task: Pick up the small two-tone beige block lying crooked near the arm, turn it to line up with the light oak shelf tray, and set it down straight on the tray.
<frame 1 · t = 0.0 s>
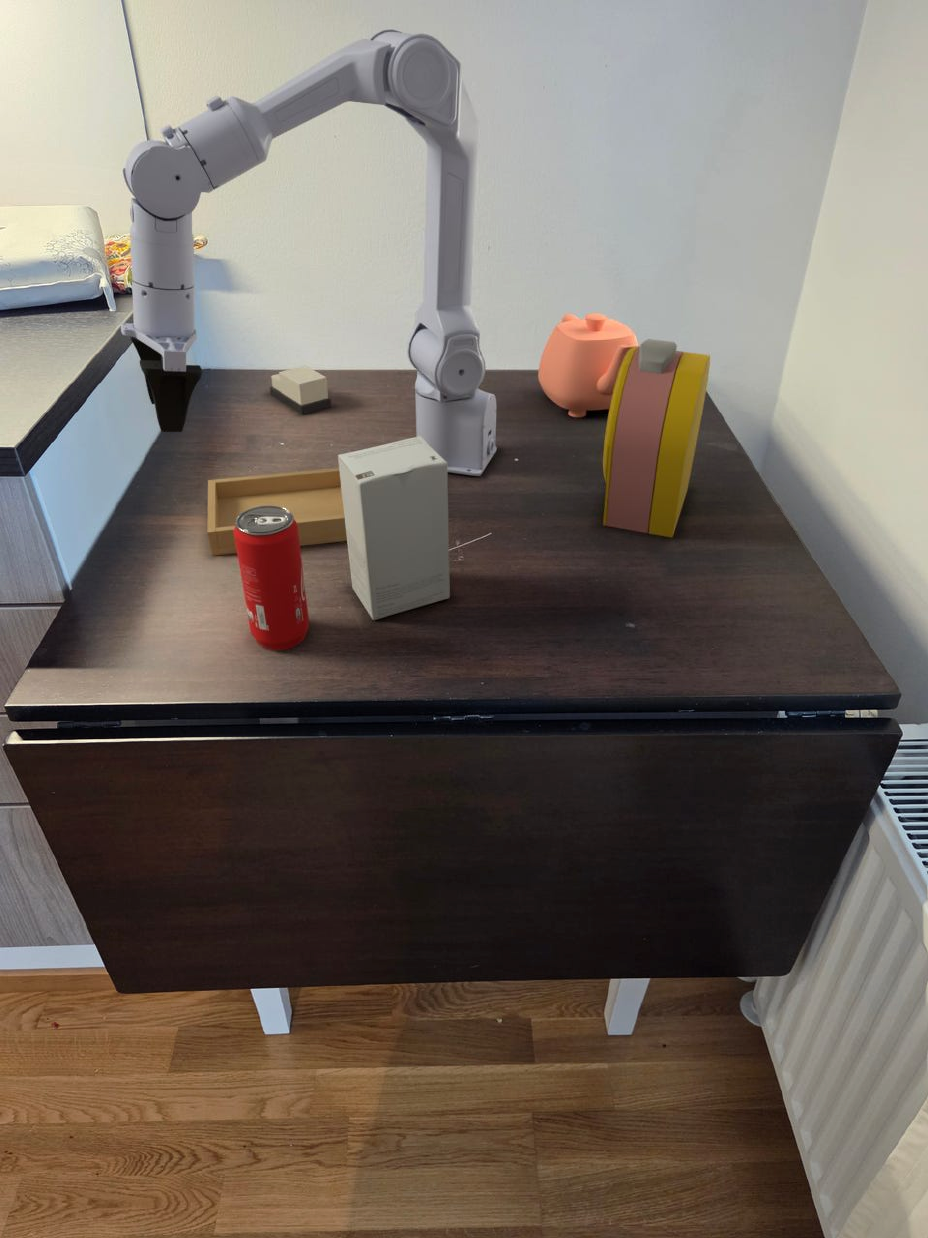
hand: (166, 416, 91), 11 cm above the table, tool pointing down, fingers open, 7 cm apart
two-tone beige block: (300, 400, 122), on the table
beverage can: (281, 637, 79), on the table
teapot: (589, 406, 122), on the table
cosmetic box: (399, 598, 84), on the table
shelf tray: (285, 520, 95), on the table
alarm clock: (643, 508, 98), on the table
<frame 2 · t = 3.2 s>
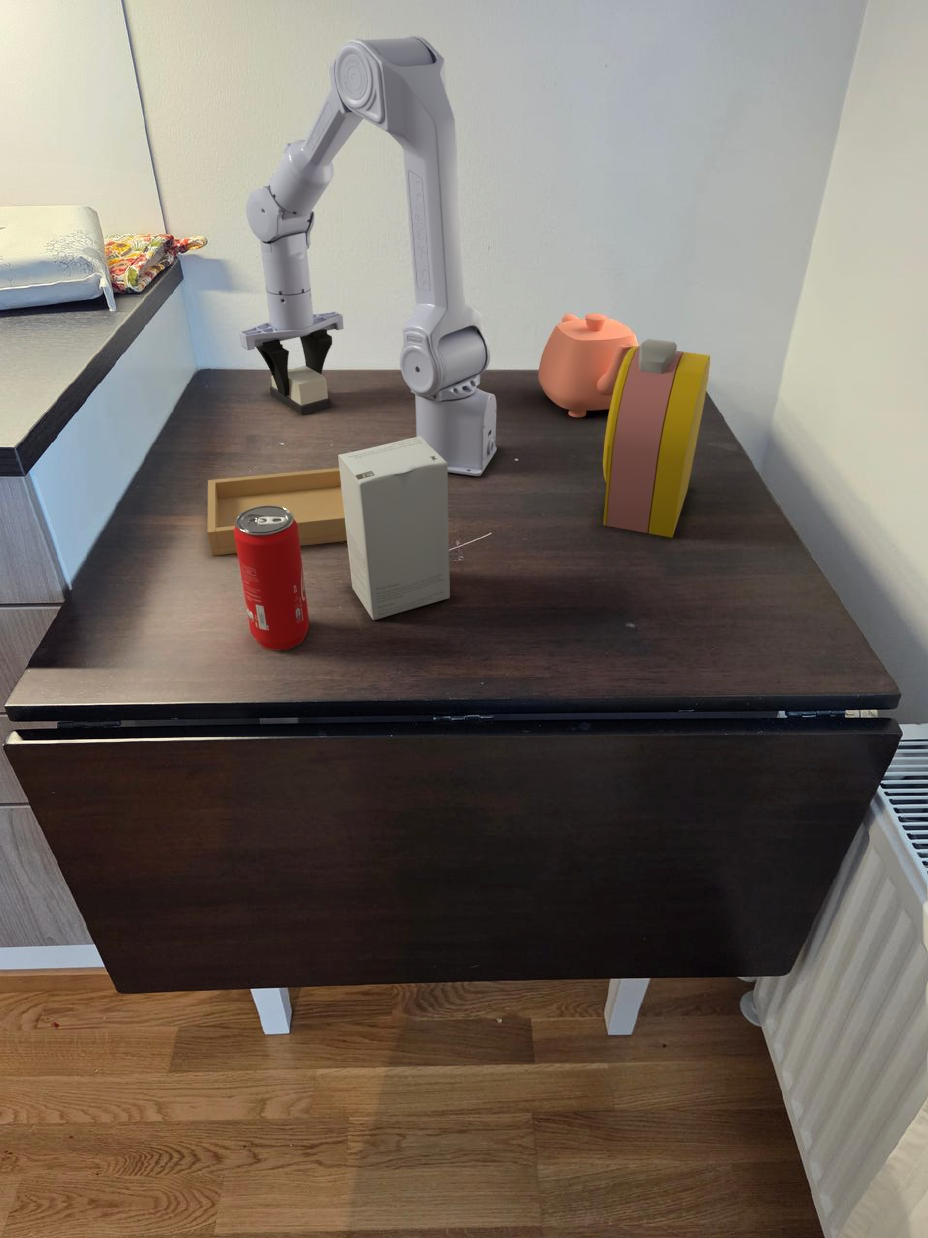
hand: (299, 389, 121), 2 cm above the table, tool pointing down, fingers closed on two-tone beige block, 4 cm apart
two-tone beige block: (300, 400, 122), on the table, touching gripper
everything else where it was.
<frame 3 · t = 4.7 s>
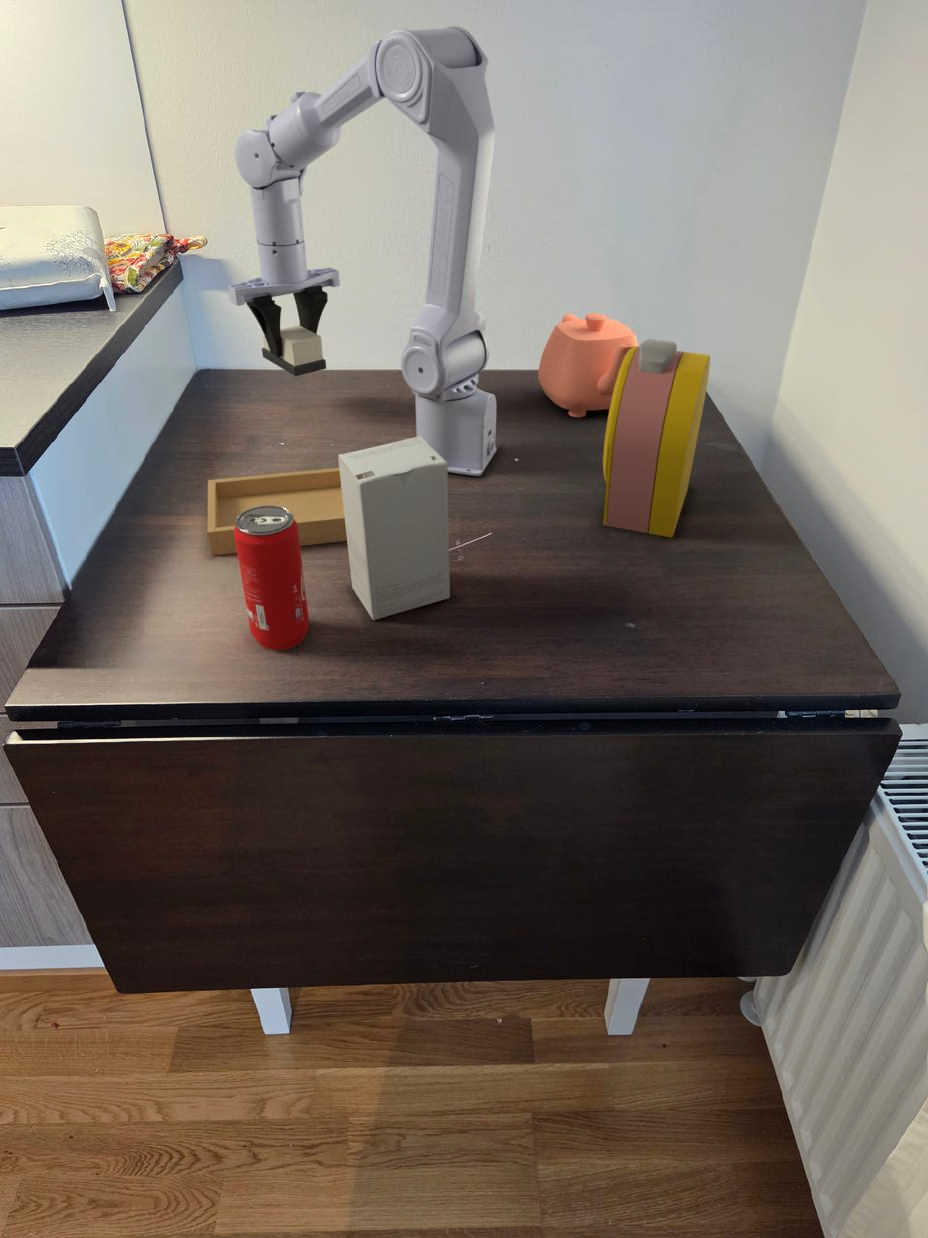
hand: (293, 350, 114), 8 cm above the table, tool pointing down, fingers closed on two-tone beige block, 4 cm apart
two-tone beige block: (294, 362, 115), point 7 cm above the table, touching gripper
everything else where it was.
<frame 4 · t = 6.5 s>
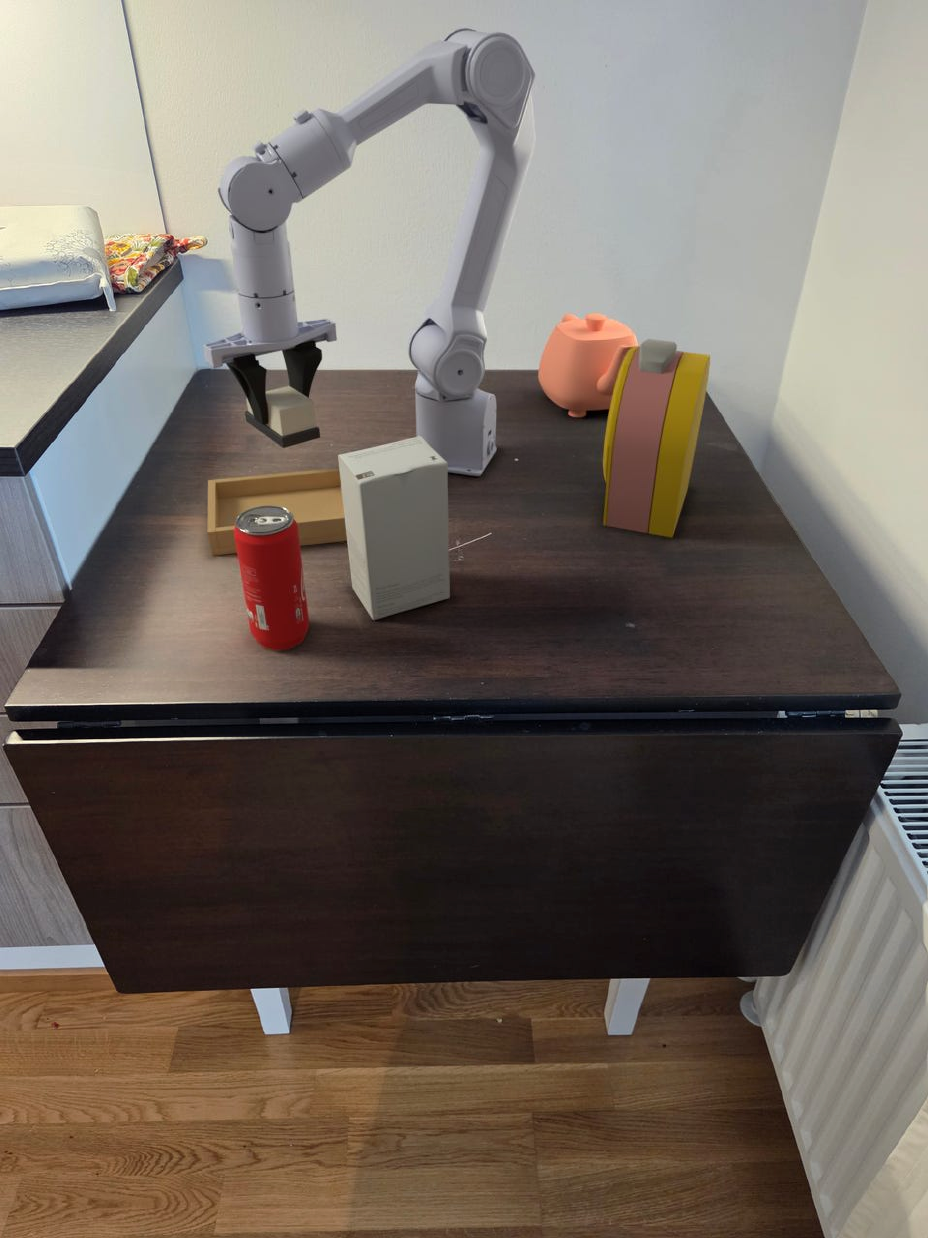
hand: (281, 415, 97), 8 cm above the table, tool pointing down, fingers closed on two-tone beige block, 4 cm apart
two-tone beige block: (282, 429, 98), point 7 cm above the table, touching gripper
everything else where it was.
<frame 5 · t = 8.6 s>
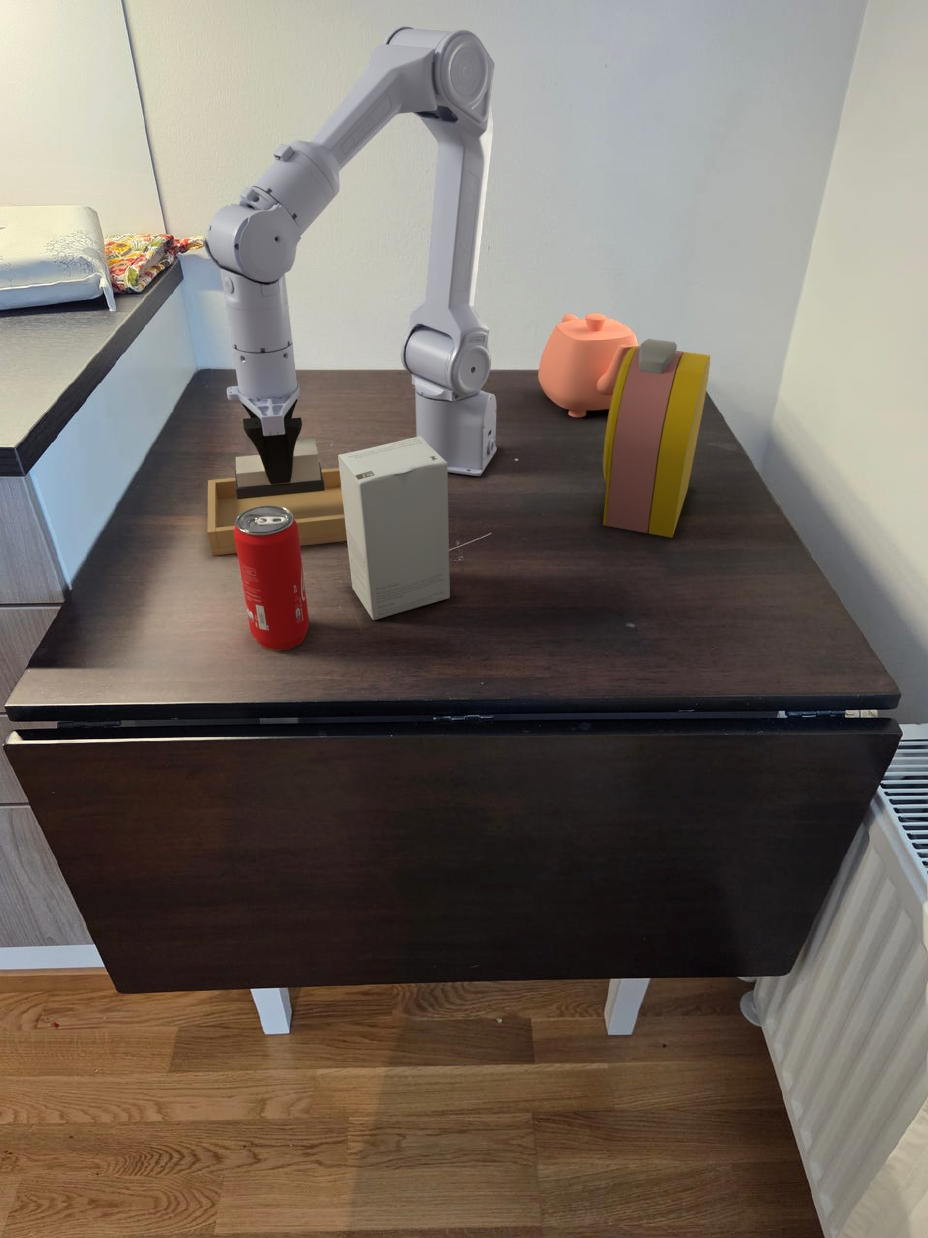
hand: (278, 471, 92), 6 cm above the table, tool pointing down, fingers closed on two-tone beige block, 4 cm apart
two-tone beige block: (280, 485, 93), point 4 cm above the table, touching gripper
everything else where it was.
when the fingers open (2 cm above the table, at t = 10.0 s): two-tone beige block stays where it is, resting on shelf tray.
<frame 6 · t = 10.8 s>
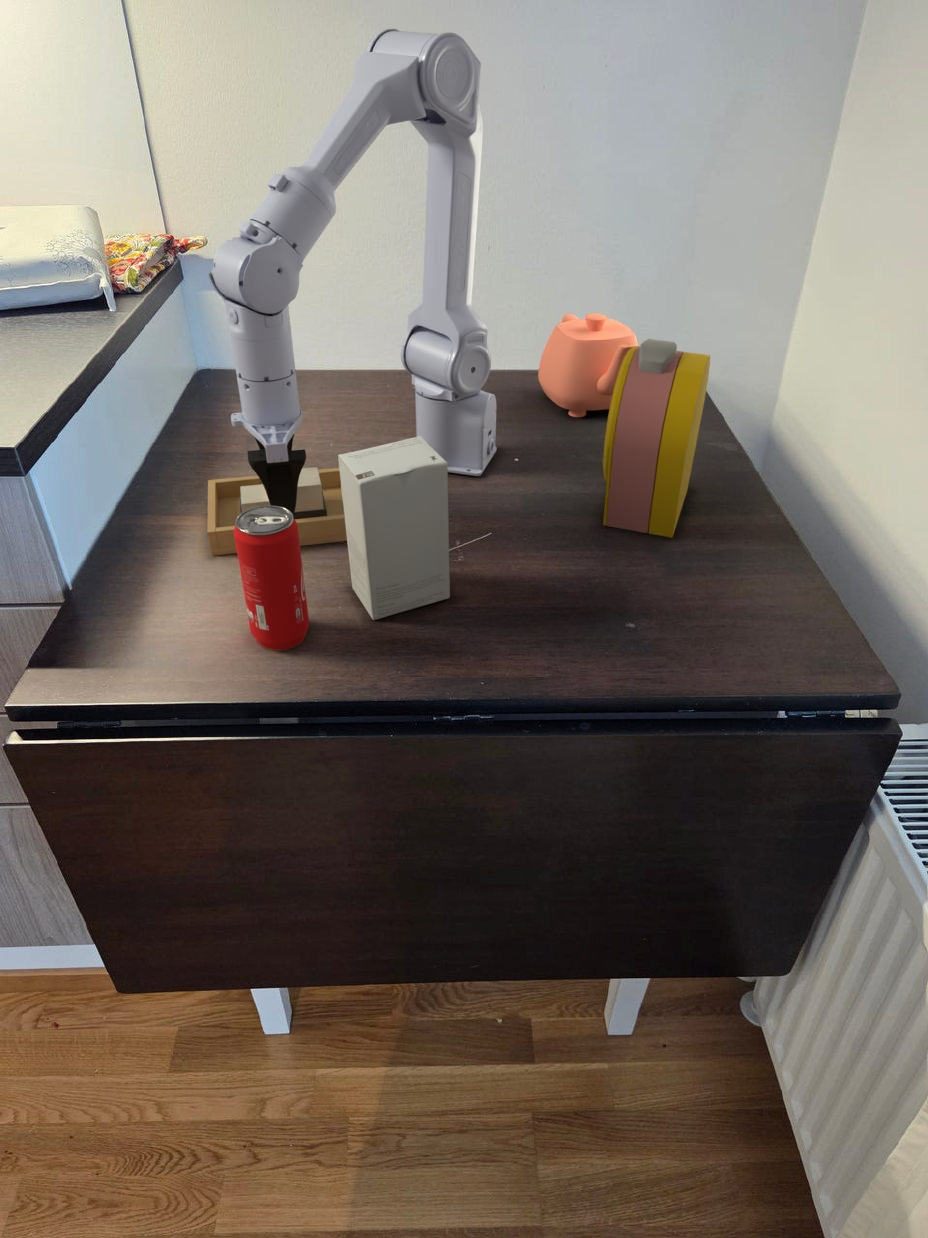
hand: (282, 494, 93), 3 cm above the table, tool pointing down, fingers open, 7 cm apart
two-tone beige block: (283, 513, 95), point 1 cm above the table, touching shelf tray
everything else where it was.
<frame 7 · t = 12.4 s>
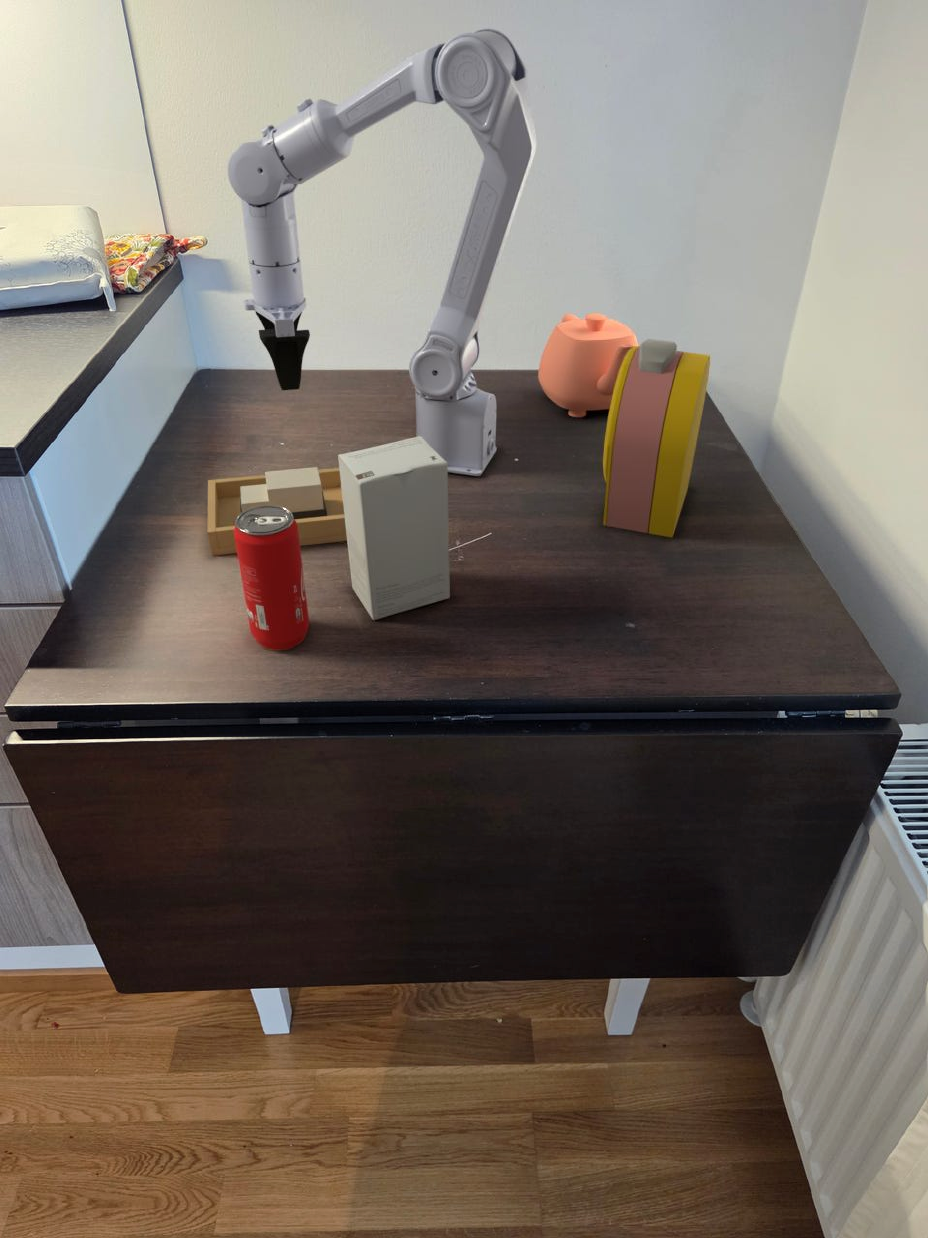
hand: (287, 377, 106), 8 cm above the table, tool pointing down, fingers open, 7 cm apart
nothing on the table moved.
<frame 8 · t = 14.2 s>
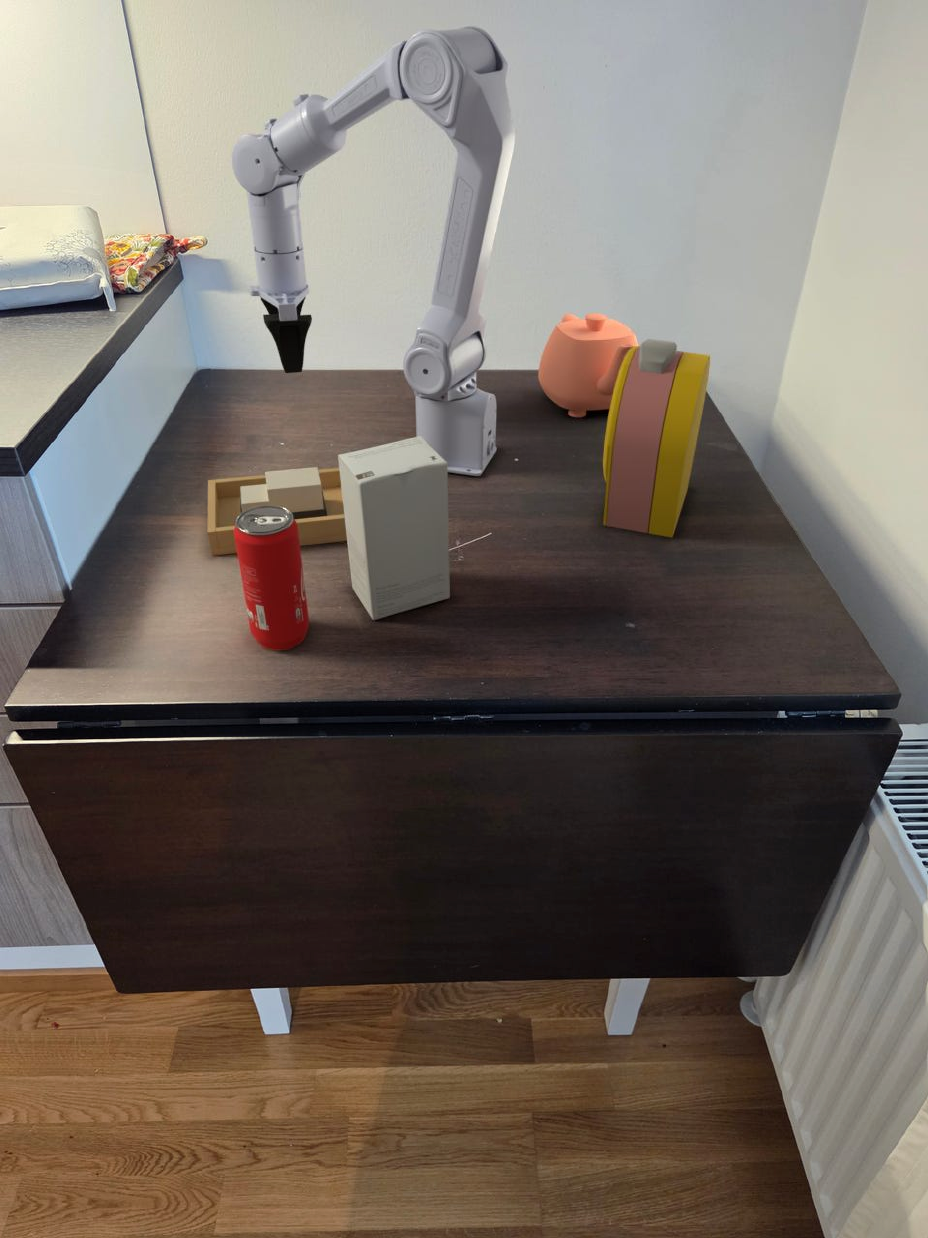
hand: (291, 360, 111), 8 cm above the table, tool pointing down, fingers open, 7 cm apart
nothing on the table moved.
at the end: two-tone beige block inside the target area in the shelf tray (0.1 cm from its centre), point 0.8 cm above the shelf tray's base; two-tone beige block tilted 0°; the gripper is holding nothing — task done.
